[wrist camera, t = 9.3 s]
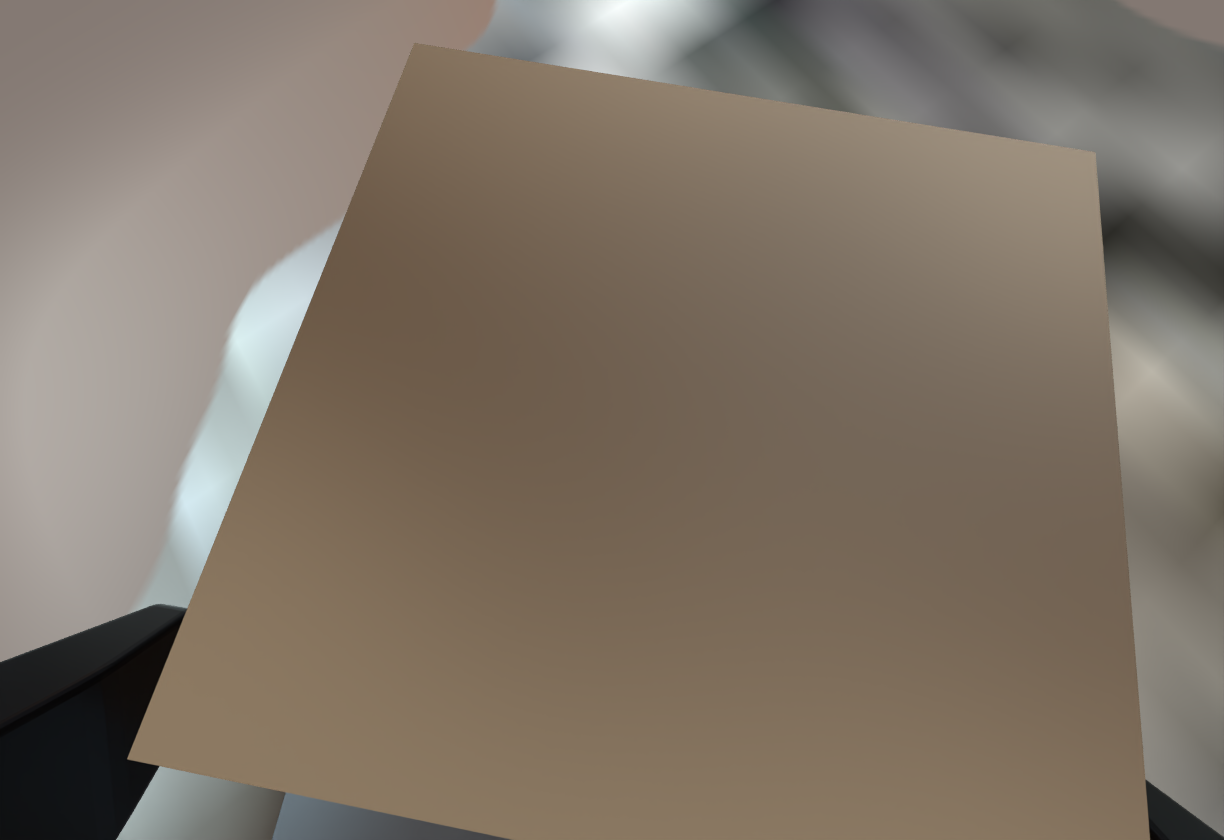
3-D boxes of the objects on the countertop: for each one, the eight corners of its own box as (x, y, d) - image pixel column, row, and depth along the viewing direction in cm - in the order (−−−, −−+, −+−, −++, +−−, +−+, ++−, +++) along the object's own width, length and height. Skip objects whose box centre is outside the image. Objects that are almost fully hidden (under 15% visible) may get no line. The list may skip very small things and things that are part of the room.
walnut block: (724, 832, 16) (1159, 976, 4) (470, 780, 16) (127, 757, 4) (753, 578, 18) (1096, 152, 6) (527, 535, 18) (413, 42, 6)
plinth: (856, 1039, 17) (908, 1088, 14) (291, 933, 17) (235, 960, 15) (872, 494, 22) (913, 453, 19) (432, 424, 22) (411, 372, 19)
